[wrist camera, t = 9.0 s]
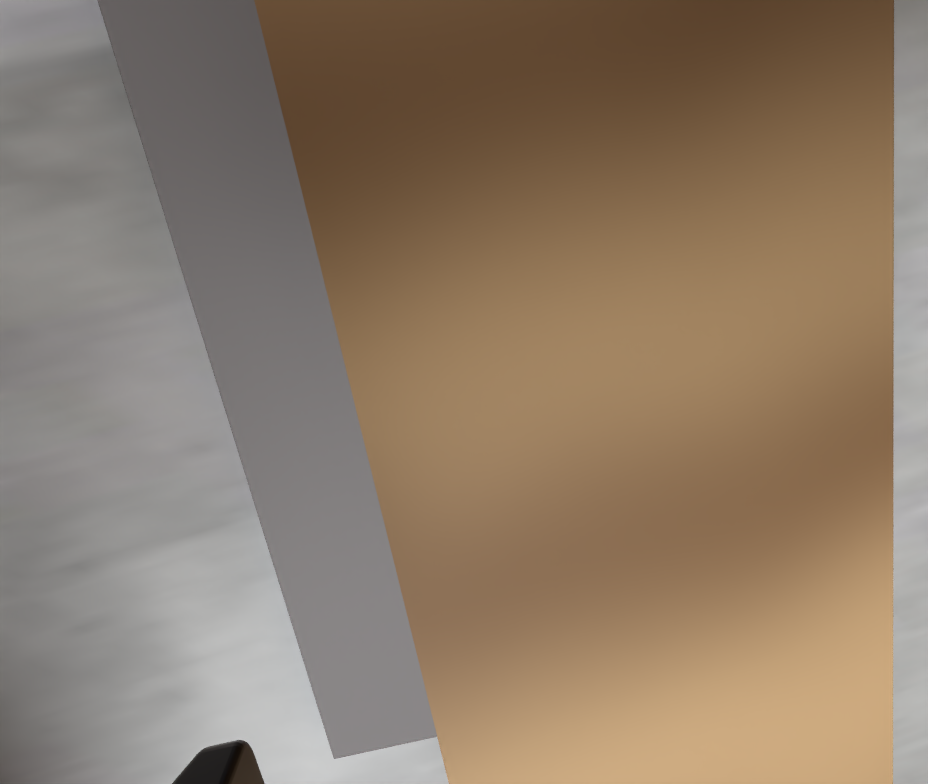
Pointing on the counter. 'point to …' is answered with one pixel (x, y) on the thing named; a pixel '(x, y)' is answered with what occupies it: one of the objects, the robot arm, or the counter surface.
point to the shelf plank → (619, 368)
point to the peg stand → (274, 351)
